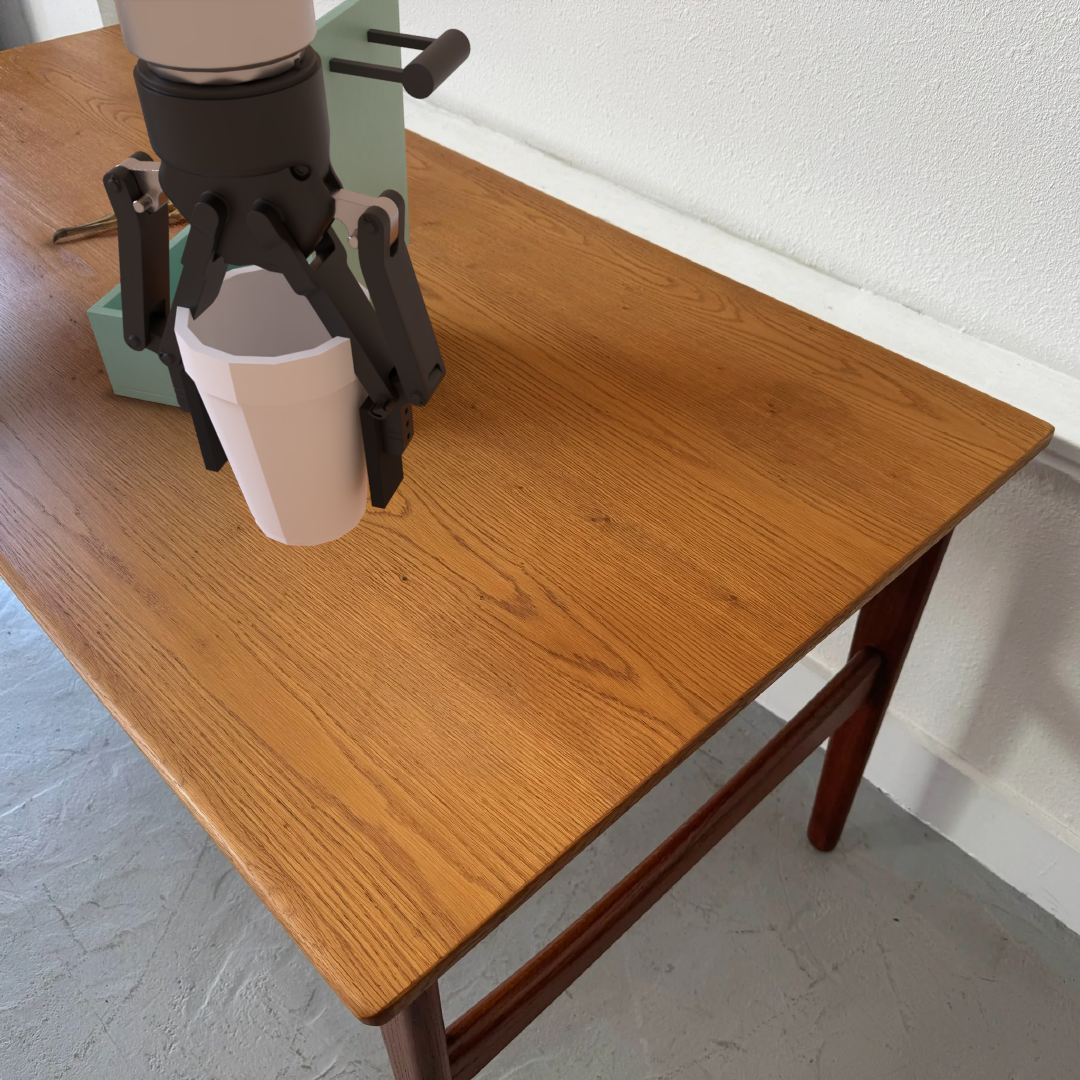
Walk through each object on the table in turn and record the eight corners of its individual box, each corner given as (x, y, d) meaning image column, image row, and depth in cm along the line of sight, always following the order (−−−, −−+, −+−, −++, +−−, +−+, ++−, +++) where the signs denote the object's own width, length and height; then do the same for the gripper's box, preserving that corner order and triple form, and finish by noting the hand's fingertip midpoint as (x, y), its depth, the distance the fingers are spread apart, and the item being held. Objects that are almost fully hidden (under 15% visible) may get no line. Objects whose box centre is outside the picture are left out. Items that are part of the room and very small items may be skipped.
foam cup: (404, 459, 62) (385, 265, 53) (381, 568, 56) (355, 367, 47) (248, 453, 62) (203, 259, 53) (206, 561, 56) (147, 360, 47)
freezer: (114, 394, 85) (85, 310, 80) (217, 295, 97) (198, 215, 91) (333, 438, 81) (319, 352, 76) (413, 328, 93) (405, 247, 87)
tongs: (49, 239, 105) (44, 220, 103) (174, 211, 111) (170, 193, 109) (62, 255, 102) (56, 236, 101) (188, 226, 108) (185, 207, 107)
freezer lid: (274, 48, 61) (401, 69, 60) (385, -29, 73) (494, -13, 71) (312, 345, 75) (416, 367, 74) (400, 241, 87) (491, 258, 86)
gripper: (512, 51, 42) (513, 471, 58) (49, -6, 46) (166, 399, 62) (448, 120, 37) (468, 561, 52) (-67, 49, 41) (92, 476, 57)
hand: (304, 473), depth 57 cm, fingers closed on foam cup, 9 cm apart
